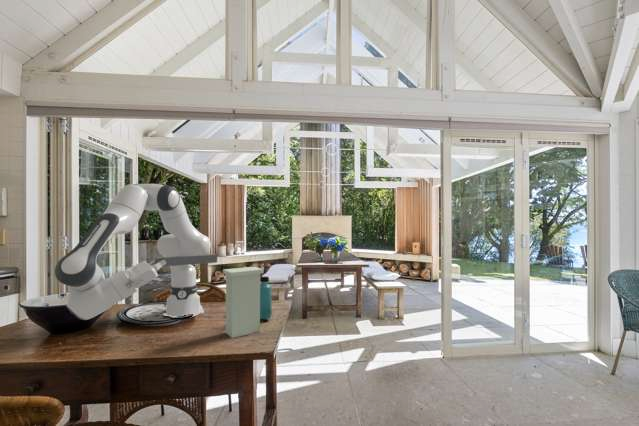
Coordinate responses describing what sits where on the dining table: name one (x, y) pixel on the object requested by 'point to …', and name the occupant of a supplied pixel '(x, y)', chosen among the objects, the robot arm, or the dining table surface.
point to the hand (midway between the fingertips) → (164, 260)
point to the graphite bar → (187, 259)
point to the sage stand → (242, 300)
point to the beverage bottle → (265, 299)
